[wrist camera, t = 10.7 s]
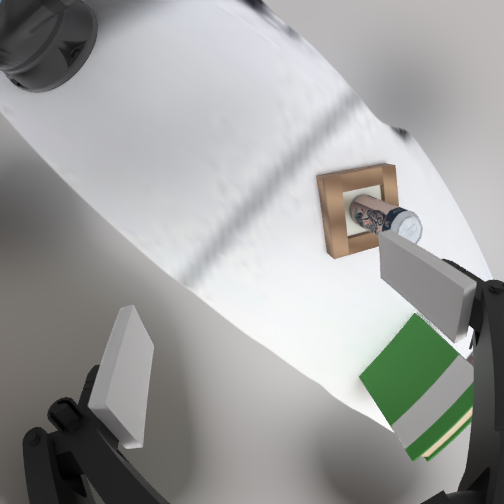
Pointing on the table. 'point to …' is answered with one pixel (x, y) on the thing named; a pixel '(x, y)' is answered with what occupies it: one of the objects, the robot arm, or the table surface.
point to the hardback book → (422, 389)
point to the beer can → (385, 218)
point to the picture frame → (340, 201)
